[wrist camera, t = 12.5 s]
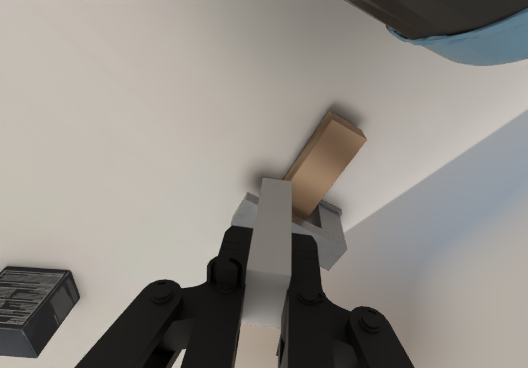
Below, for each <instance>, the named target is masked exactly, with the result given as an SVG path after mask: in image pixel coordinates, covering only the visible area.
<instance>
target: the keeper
mask: <svg viewBox="0 0 528 368" xmlns="http://www.w3.org/2000/svg"><path fill="white" fill-rule="evenodd" d="M258 201H259V197H257V196H255V195H253V194H251V193H249V192H247V194H246V195H245V197H244V199H243V200H242V202H241V204H240V205H239V207H238V209H237V210H236V212H235V214H234V215H233V218H232V222H231V225H234V226H241V227H249V228H254V224H255V218H256V212H257V207H258ZM341 214H342V211H341V210H340V209H338V208H336V207H334V206H332V205H330V204H329V203H327V202H325V201H323V200H321V201H320V202H319V203H318V205H317V206H316V207H315V209H314V210H313V211H312V213H311V214H310V215H309V217H308V218H307V219H306V221H305V220H303V219H301V218H299V217H297V216H295V215H293V214H292V229H291V233H298V234H305V235H312V236H313V238H314V239H315V241H316V242H317V245H318V255H319V265H320V267H322V268H324V269H326V270H328V271H329V270H330V269H331V267H332V266H333V265H334V264H335V263H336V262H337V261H338V260H339V258H340V257H341V256H342V255H343V254H344V253H345V252H346V250H347V246H346V242H345V238H344V233H343V229H342V225H341V221H340V216H341Z"/></svg>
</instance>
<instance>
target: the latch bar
mask: <svg viewBox="0 0 528 368" xmlns="http://www.w3.org/2000/svg"><path fill="white" fill-rule="evenodd" d="M366 140H367V139H366V137H365V135H364V134H363V132H362V130H361V129H359V128H357V127H356V126H354V125H352V124H351V123H349V122H347V121H345V120H344V119H342V118H340V117H339V116H337V115H335V114H333V113H332V112H330V111H329V112H328V113H327V115H326V116H325V118H324V119H323V121H322V122H321V124H320V125H319V127H318V128H317V130H316V131H315V133H314V134H313V136H312V137H311V139H310V140H309V142H308V143H307V145H306V147H305V148H304V150H303V151H302V153H301V154H300V156H299V157H298V159H297V160H296V162H295V163H294V165H293V166H292V168H291V169H290V171H289V172H288V174H287V175H286V177H285V178H284V180H285V181H292V214H293V215H295V216H297V217H299V218H301V219H303V220H305V221H306V219H307V218H308V217H309V215H310V214H311V213H312V211H313V210H314V209H315V207H316V206H317V205H318V203H319V202H320V201H321V200H322V198H323V197H324V196H325V194H326V193H327V192H328V190H329V189H330V188H331V186H332V185H333V184H334V182H335V181H336V180H337V178H338V177H339V176H340V175H341V173H342V172H343V171H344V169H345V168H346V167H347V165H348V164H349V163H350V161H351V160H352V159H353V157H354V156H355V155H356V154H357V152H358V151H359V150H360V148H361V147H362V146H363V144H364V143H365V142H366Z"/></svg>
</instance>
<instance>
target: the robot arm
mask: <svg viewBox="0 0 528 368" xmlns="http://www.w3.org/2000/svg"><path fill="white" fill-rule="evenodd" d="M345 1H346V2H348V3H350V4H351V5H353V6H355V7H356V8H358V9H360V10H362V11H363V12H365V13H367V14H368V15H370V16H372V17H374V18H375V19H377V20H379V21H380V22H382V23H384V24H385V25H386V28H387V29H388V31H389V32H390V33H391V34H393V35H394V36H395V37H397V38H398V39H400V40H402V41H404V42H410V43H412V44H414V45H421V46H423V47H425V48H427V49H429V50H431V51H433V52H435V53H437V54H439V55H441V56H442V57H444V58H447V59H449V60H451V61H454V62H457V63H462V64H468V65H474V66H490V65H500V64H506V63H511V62H516V61H520V60H524V59H528V0H345ZM291 229H292V181H285V180H278V179H270V178H263V179H262V184H261V190H260V196H259V201H258V207H257V212H256V218H255V224H254V228H249V227H241V226H234V225H232V226H231V227H230V228H229V229H228V230H227V231H226V232H225V234H224V238H223V242H222V244H221V248H220V251H219V254H218V256H217V257H215V258H213V259H212V260H210V262H209V263H208V265H207V281H206V282H205V283H203V284H201V285H199V286H195V287H189V288H181V287H180V285H179V284H178V283H176V282H174V281H172V280H166V279H165V280H157V281H155V282H152V283H150V284H149V285H148V286H146V287H145V288H144V289H143V290H142V291H141V293H140V294H139V295H138V296H137V297H136V298H135V299H134V300H133V302H132V303H131V304H130V305H129V306H128V307H127V308H126V310H125V311H124V312H123V313H122V314H121V315H120V316H119V318H118V319H117V320H116V321H115V322H114V323H113V324H112V326H111V327H110V328H109V329H108V330H107V331H106V332H105V333H104V335H103V336H102V337H101V338H100V339H99V340H98V341H97V343H96V344H95V345H94V346H93V347H92V348H91V349H90V351H89V352H88V353H87V354H86V355H85V356H84V357H83V358H82V360H81V361H80V362H79V363H78V364H77V365H76V366H75V368H171V367H172V366H173V364H174V362H175V361H176V359H177V357H178V356H179V354H180V352H181V350H182V349H186V352H185V355H184V358H183V361H182V364H181V368H234V366H235V360H236V354H237V347H238V341H239V334H240V326H241V323H243V324H250V325H257V326H264V327H271V328H278V329H280V327H281V335H280V340H279V344H278V349H277V354H276V355H277V356H278V368H414V366H413V364H412V362H411V361H410V359H409V357H408V356H407V354H406V352H405V350H404V348H403V347H402V345H401V343H400V341H399V340H398V338H397V336H396V334H395V332H394V331H393V329H392V327H391V325H390V323H389V322H388V320H387V319H386V318H385V317H384V315H382V314H381V313H380V312H378V311H377V310H375V309H373V308H370V307H364V306H360V307H356V308H354V309H353V310H352V311H351V312H350V311H348V310H346V309H343V308H341V307H339V306H337V305H335V304H333V303H332V302H331V301H330V300H328V298H327V297H326V295H325V293H324V292H323V290H322V285H321V276H320V265H319V255H318V245H317V242H316V241H315V239H314V238H313V236H312V235H305V234H298V233H291Z"/></svg>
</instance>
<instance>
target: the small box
mask: <svg viewBox="0 0 528 368" xmlns="http://www.w3.org/2000/svg"><path fill="white" fill-rule="evenodd" d="M79 299H80V296H79V293H78V290H77V288H76V285H75V282H74V279H73V276H72V274H71V272H70V271H67V270H52V269H36V268H21V267H5V268H4V269H3V270H2V271H1V272H0V356H13V357H26V358H37V357H38V356H39V354H40V353H41V352H42V350H43V349H44V347H45V346H46V345H47V343H48V342H49V340H50V339H51V338H52V336H53V335H54V333H55V332H56V331H57V329H58V328H59V326H60V325H61V324H62V322H63V321H64V319H65V318H66V317H67V315H68V314H69V313H70V311H71V310H72V308H73V307H74V306H75V304H76V303H77V302H78V300H79Z"/></svg>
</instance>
